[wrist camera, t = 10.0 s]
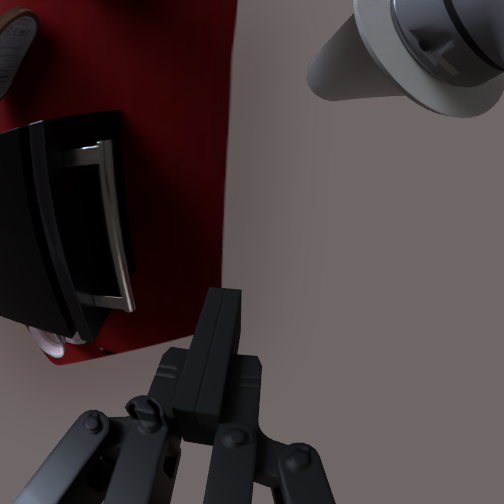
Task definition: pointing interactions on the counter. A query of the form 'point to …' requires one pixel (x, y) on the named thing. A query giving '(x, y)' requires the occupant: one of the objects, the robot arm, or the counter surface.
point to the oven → (26, 245)
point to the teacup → (53, 341)
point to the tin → (15, 43)
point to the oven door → (85, 214)
